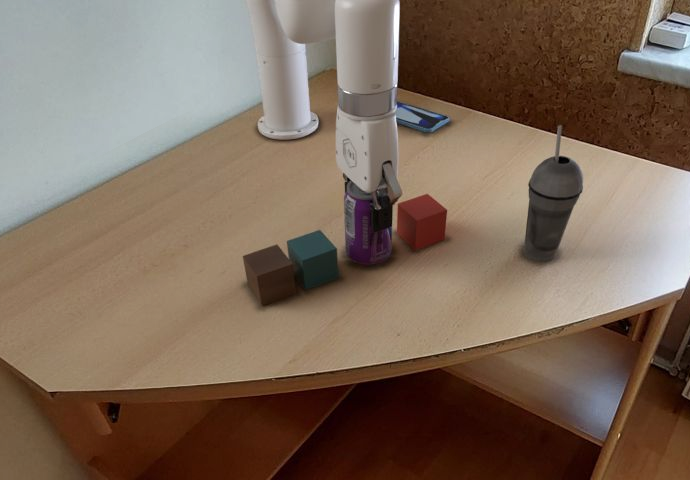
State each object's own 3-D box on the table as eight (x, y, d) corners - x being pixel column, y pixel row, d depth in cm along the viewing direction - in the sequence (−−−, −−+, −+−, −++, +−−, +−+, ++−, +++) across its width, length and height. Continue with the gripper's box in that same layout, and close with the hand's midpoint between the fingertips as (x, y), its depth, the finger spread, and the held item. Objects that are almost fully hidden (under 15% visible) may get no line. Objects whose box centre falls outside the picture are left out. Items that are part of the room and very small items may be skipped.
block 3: (396, 232, 100) (397, 203, 96) (425, 222, 101) (427, 193, 97) (415, 250, 96) (416, 220, 92) (444, 239, 98) (447, 209, 94)
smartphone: (393, 99, 133) (451, 116, 125) (393, 103, 134) (451, 121, 126) (371, 111, 129) (429, 130, 121) (371, 116, 130) (428, 135, 122)
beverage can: (388, 270, 93) (390, 201, 85) (342, 266, 95) (339, 198, 86) (393, 242, 98) (396, 174, 90) (349, 239, 99) (347, 171, 91)
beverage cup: (556, 273, 90) (590, 145, 76) (507, 259, 93) (532, 133, 79) (570, 246, 95) (605, 121, 80) (524, 234, 98) (550, 110, 83)
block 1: (247, 285, 93) (242, 255, 89) (281, 273, 94) (277, 243, 90) (261, 306, 89) (256, 276, 85) (296, 293, 91) (292, 263, 87)
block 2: (290, 270, 95) (286, 240, 91) (322, 259, 96) (319, 229, 92) (305, 290, 91) (302, 260, 87) (338, 278, 93) (336, 248, 89)
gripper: (311, 80, 83) (319, 196, 96) (376, 131, 72) (375, 254, 85) (360, 67, 85) (361, 182, 98) (430, 115, 74) (422, 237, 87)
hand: (368, 215), depth 91 cm, fingers closed on beverage can, 7 cm apart
